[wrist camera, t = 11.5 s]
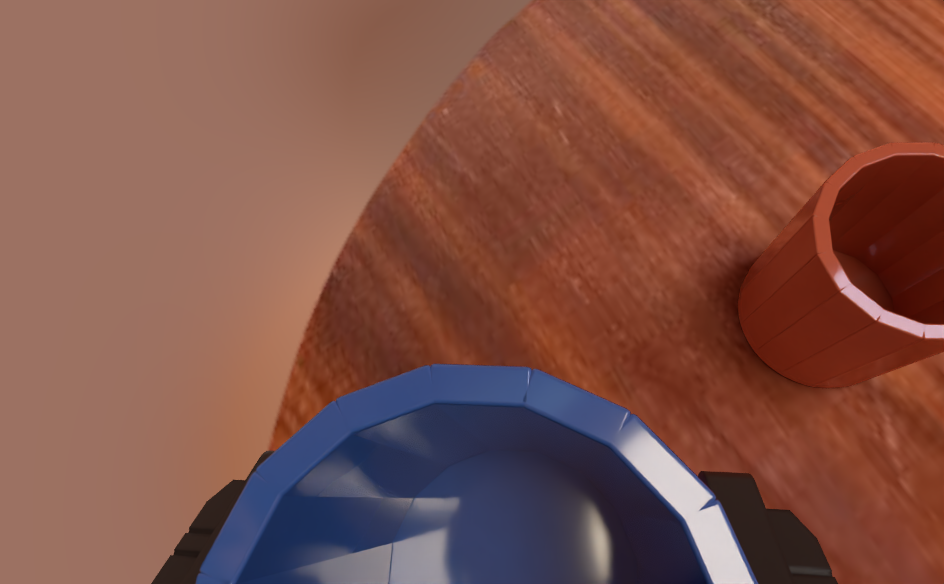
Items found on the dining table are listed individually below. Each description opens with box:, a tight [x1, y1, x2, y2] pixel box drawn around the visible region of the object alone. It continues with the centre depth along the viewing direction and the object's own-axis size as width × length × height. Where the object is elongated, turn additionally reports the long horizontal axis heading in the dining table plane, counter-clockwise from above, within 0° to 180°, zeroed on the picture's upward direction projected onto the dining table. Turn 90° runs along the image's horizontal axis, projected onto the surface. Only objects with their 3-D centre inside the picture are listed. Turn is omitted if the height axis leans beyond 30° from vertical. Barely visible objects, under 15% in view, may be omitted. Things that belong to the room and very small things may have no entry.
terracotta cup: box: [738, 142, 944, 388], centre depth 23 cm, size 7×7×8 cm
